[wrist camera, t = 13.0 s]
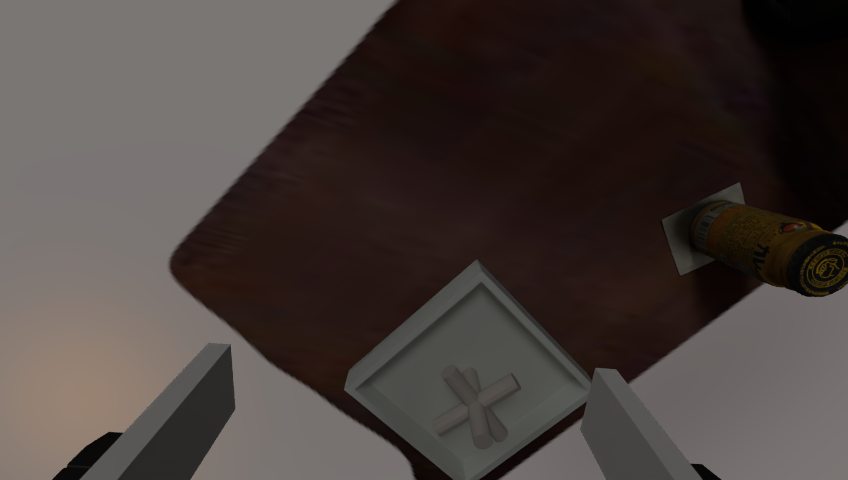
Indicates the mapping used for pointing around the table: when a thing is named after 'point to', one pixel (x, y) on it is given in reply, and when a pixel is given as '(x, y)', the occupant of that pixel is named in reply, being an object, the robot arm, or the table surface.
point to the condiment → (758, 244)
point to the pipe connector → (475, 406)
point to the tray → (465, 348)
